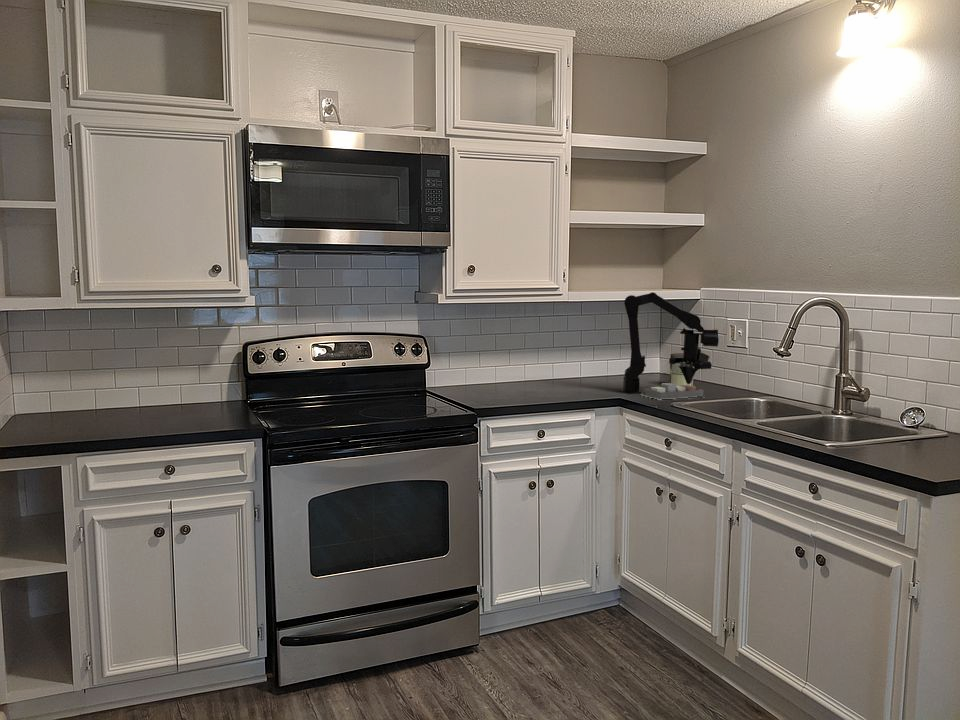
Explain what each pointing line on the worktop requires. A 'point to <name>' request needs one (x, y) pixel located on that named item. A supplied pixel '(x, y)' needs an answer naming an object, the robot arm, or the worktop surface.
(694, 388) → the key
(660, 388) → the key
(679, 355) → the coffee can
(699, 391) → the keypad board
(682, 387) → the key
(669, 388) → the key
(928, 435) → the worktop surface
